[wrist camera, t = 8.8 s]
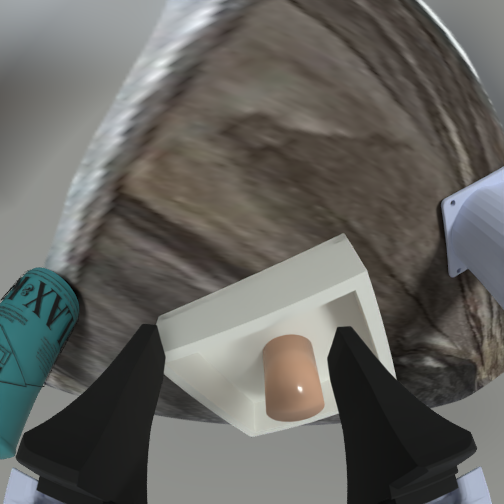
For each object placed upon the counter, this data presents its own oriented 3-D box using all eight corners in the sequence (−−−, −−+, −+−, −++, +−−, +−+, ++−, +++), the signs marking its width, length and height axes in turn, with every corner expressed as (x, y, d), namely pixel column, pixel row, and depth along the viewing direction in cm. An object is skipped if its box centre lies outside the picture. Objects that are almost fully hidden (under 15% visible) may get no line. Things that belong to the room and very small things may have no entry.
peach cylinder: (321, 338, 23) (335, 397, 18) (299, 368, 26) (308, 423, 20) (273, 330, 23) (279, 392, 18) (255, 361, 25) (257, 419, 20)
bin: (343, 232, 19) (366, 270, 15) (384, 354, 27) (398, 389, 23) (158, 316, 23) (145, 358, 19) (250, 402, 30) (251, 437, 26)
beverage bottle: (97, 315, 23) (23, 521, 6) (45, 310, 23) (-35, 478, 6) (75, 254, 20) (-51, 484, 2) (22, 254, 20) (-96, 430, 2)
